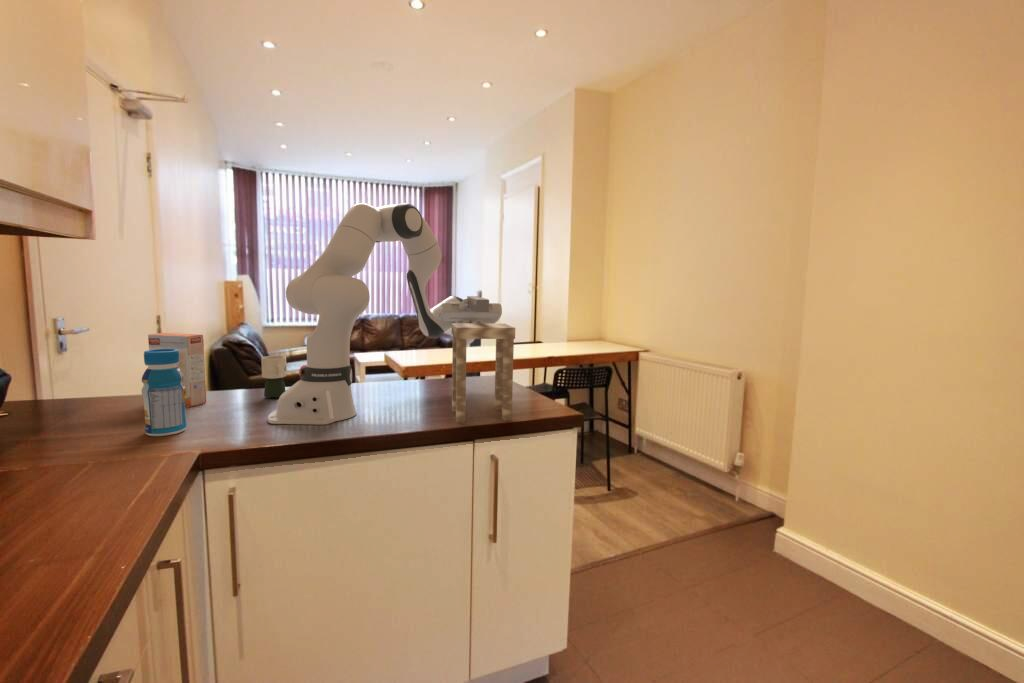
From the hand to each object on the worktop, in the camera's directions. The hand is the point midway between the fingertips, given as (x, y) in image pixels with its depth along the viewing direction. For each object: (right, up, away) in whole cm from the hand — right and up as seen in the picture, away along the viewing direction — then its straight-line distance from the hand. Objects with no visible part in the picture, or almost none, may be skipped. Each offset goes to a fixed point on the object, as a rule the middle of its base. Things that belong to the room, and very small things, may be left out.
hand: (474, 300), depth 151 cm
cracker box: (-87, -32, -10) cm, 93 cm away
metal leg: (+2, -3, -7) cm, 8 cm away
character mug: (-64, -31, +1) cm, 71 cm away
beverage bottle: (-72, -35, -36) cm, 88 cm away
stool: (+3, -34, -14) cm, 37 cm away
